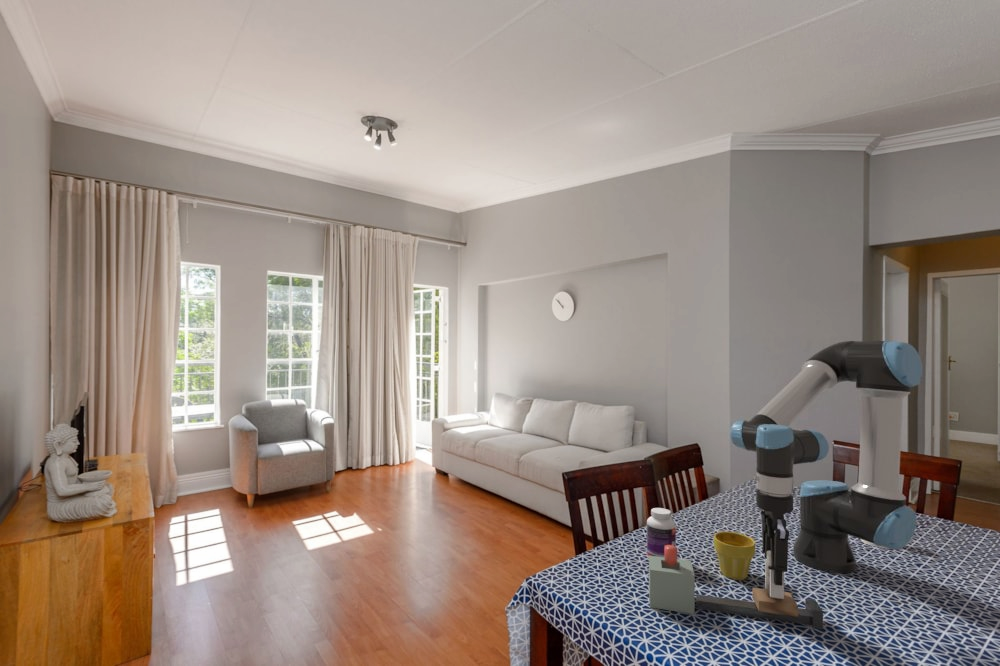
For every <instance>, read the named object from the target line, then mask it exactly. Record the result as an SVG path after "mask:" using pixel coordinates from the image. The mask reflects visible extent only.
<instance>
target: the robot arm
mask: <svg viewBox="0 0 1000 666" xmlns="http://www.w3.org/2000/svg"><path fill="white" fill-rule="evenodd" d="M922 378H923V363H922V360H921V357H920V354H919V353H918V352H917V350H916V348H915V347H914V346H913V345H912V344H909V343H908V342H904V341H893V340H882V341H881V340H872V341H871V340H868V341H867V340H862V341H861V340H858V341H857V340H856V341H855V340H844V341H841V342H836V343H833V344H831V345H829V346H827V347H825V348H823V349H821V350H820V351H818V352H816V353H814V354H813V355H812V356H811V357H810V358H808V359H807V360H806V361H805V362H804V363H803V364H802V366H801V371H800V372H799V373H798V374H797V375H795V377H794V378H793V379H792V380H790V381H789V383H788V384H787V385H785V386H784V387H783V388H782V389H781V390H780V391H779V392H778V393H777V394H776V395H775V396H773V398H771V400H770V401H768V403H767V404H766V405H765V406H763V408H761V409H759V411H758V412H757V413H756V414H755V415H754V416H752V418H751V419H750V420H749V421H748V420H736V421H735V422H733V424H732V425H731V427H730V430H729V438H730V440H731V442H732V444H733V445H734V446H735V447H737V448H740V449H743V450H746V451H749V452H750V451H751V452H755V453H756V469H755V470H756V476H753V479H754V481H756V489H757V490H756V491H755V492H756V493H755V495H756V496H755V498H756V499H755V503H756V507H757V508H759V509H760V510H761V511H760V515H761V533H762V534H761V535H762V537H761V538H762V541H761V543H762V549H761V550H762V553H763V554H764V558H765V560H764V565H765V566H764V571H765V573H764V574H765V575H764V577H765V579H764V584H765V585H764V589H766V590H767V551H769V550H771V566H768V569H770V597H773V598H781V599H784V592H785V573H787V572H788V561H789V559H788V558H789V537H790V531H789V529H787V520H786V519H785V516H784V515H786V514H790V513H792V512H793V511H794V496H793V495H792V494H793V493H794V465H800V464H801V465H802V464H808V463H816V462H818V461H821V460H823V459H825V458H826V457H827V456H828V453H829V450H830V446H829V442H828V440H827V438H826V437H825V436H824V435H823V434H822V433H821V432H820V431H818V430H814V429H812V430H811V429H809V430H808V429H803V430H798V429H797V430H796V429H793V428H792V427H790V425H791V424H792V423H793V422H794V421H795V420H796V419H797V418H798V417H799V416H800V415H801V414H802V413H803V412H804V411H805V410H806V409H808V407H809V406H810V405H811V404H812V403H813V402H814V401H815V400H816V399H817V398H819V396H820V395H822V393H824V391H826V390H827V389H828V390H829V389H832V388H833V387H834V386H836V385H837V384H839V383H843V382H853V383H855V389H856V391H858V393H860V394H861V397H862V398H861V416H860V417H861V419H860V436H859V437H860V438H859V440H860V441H859V459H858V462H859V463H858V478H857V479H858V481H857V483H856V484H854V485H852V486H851V488H849V486H848V484H847V483H845V482H842V481H837V480H835V481H834V480H826V479H822V480H821V479H819V480H818V479H817V480H807V481H806V480H805V481H804V482H802V483H801V485H800V492H799V493H800V494H799V499H800V500H799V502H800V503H799V507H800V508H799V510H800V512H799V513H800V516H799V521H800V526H799V527H800V530H799V532H798V535H797V538H796V540H795V543H794V546H793V557H794V558H795V559H796V560H797V561H798V562H799V563H801V564H803V565H806V566H808V567H810V568H813V569H816V570H820V571H824V572H829V573H836V574H849V573H853V572H855V570H856V569H857V568H856V567H857V565H856V563H857V561H856V558H855V554H854V553H853V552H854V551H853V549H852V546H851V543H850V541H849V536H851V537H854V538H857V539H860V540H861V539H862V540H865V541H868V542H871V543H874V544H875V545H877V546H883V547H887V548H890V549H889V550H900V549H902V548H904V547H906V546H907V545H908V544H909V543H910V541H911V540H912V538H913V536H914V535H915V531H916V528H917V521H918V520H917V515H916V512H915V510H914V509H913V508H912V507H911V506H908V505H906V503H907V502H906V501H907V498H906V496H905V495H904V494H903V492H901V491H900V473H901V472H900V470H901V469H900V467H901V447H902V446H901V444H902V443H901V441H902V422H903V420H902V419H903V399H904V398H905V397H907V396H908V395H911V387H912V388H913V387H915V386H918V385H919V384H920V383H921V381H922V380H921V379H922Z"/></svg>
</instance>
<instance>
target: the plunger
mask: <svg viewBox="0 0 1000 666" xmlns="http://www.w3.org/2000/svg"><path fill="white" fill-rule="evenodd" d="M677 559H678V547H677V545H676V546H673V545H665V546H664V563H665V564H666V565H667V566H671V567H675V566H677Z"/></svg>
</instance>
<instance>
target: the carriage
mask: <svg viewBox="0 0 1000 666" xmlns="http://www.w3.org/2000/svg"><path fill="white" fill-rule="evenodd" d="M766 560H767V589H766V588H757V587H752V595H751V596H752V600H753V602H755V604H756V606H757V608H758V611H762V612H769V613H776V614H783V615H790V616H797V617H798V608H799V605H798V604H797V602H796V601H795V598H794V597H793V595H792V594H791V592H788V591H784V599H781V598H773V597H770V569H768V566H771V550H769V551H767V559H766Z"/></svg>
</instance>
